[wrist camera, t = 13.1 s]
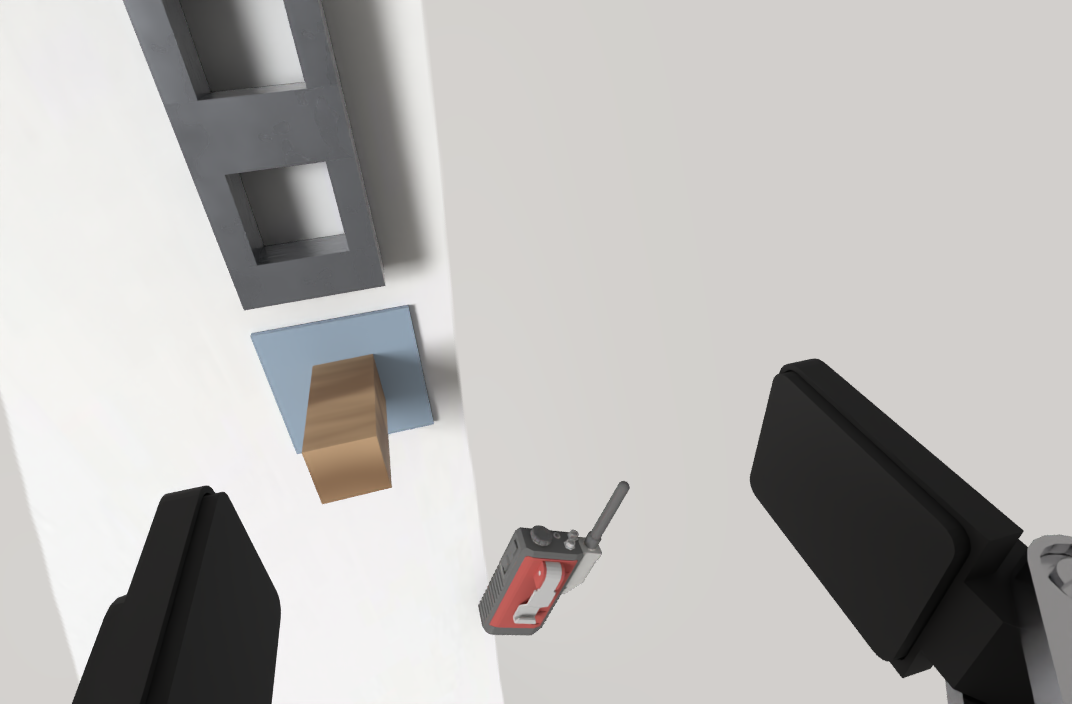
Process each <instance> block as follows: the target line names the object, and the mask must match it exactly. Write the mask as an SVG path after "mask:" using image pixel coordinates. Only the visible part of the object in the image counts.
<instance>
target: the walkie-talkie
mask: <svg viewBox="0 0 1072 704" xmlns="http://www.w3.org/2000/svg"><path fill="white" fill-rule="evenodd" d="M628 490H629V484H628V483H627V482H625V481H622V482H620V483H619V484H618V487H617V488H616V490H615V491H614V493H613V495H612V496H611V498H610V500H609V502H608V503H607V505H606V507H605V509H604V510H603V512H602V514H601V516H600V517H599V519H598V521H597V522H596V524H595V526H594V528H593V529H592V531H590V532H589V533H588V535H587V537H586V538H583V537H578V535H579V534H578V532H577V531H576V530H571V531H570V532H562V531H552V530H548V529H547V528H545V527H543V526H534V527H533V528H522V527H520V528H518V529H517V530H515V532H514V534H513V536H512V538H511V540H510V542H509V544H508V546H507V548H506V550H505V552H504V554H503V556H502V558H501V560H500V562H499V565H498V566H497V569H496V570H495V573H494V574H493V577H492V578H491V581H490V582H489V586H487V590H485V591H486V592H485V593H484V594H483V595H484V596H483V597H482V600H481V601H480V604H478V607H479V612H480V617H481V622H482V626H483V628H484V629H485V631H486V632H487V633H489V634H492V635H532V634H534V633H535V632H536V631H538V630H539V629H540V628H542V626H543V624H544V622H545V621H546V619H547V618H548V615H549V614H550V613H551V610H552V609H553V607H554V606H555V603H556V602H557V600H558V599H559V597H560V595H561V594H565V593H567V592H568V591H570V590H572V589H573V588H575V587H577V586H578V585H580V584H581V583H583V582H584V580H585V578H586V577H587V575H588V573H589V572H590V570H591V568H592V567H593V565H594V563H595V562H596V560H598V559H599V558H600V556H601V554H602V552H601V550H600V547H599V545H598V544H599V542H600V541H601V536H602V534H603V533H604V531H605V529H606V527H607V526H608V524H609V523H610V521H611V519H612V517H613V516H614V514H615V512H616V511H617V509H618V507H619V506H620V504H621V502H622V500H623V499H624V497H625V495H626V494H627V492H628Z"/></svg>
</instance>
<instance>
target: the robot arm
mask: <svg viewBox="0 0 1072 704" xmlns="http://www.w3.org/2000/svg"><path fill="white" fill-rule="evenodd" d="M750 484H751V488H752V490H753V492H754V494H755V496H756V497H757V499H758V500H759V501H760V503H761V504H762V505H763V507H764V508H765V509H766V511H767V512H768V513H769V515H770V516H771V517H772V518H773V520H774V521H775V522H776V524H777V525H778V526H779V528H780V529H781V530H782V532H783V533H784V534H785V536H786V537H787V538H788V540H789V541H790V542H791V543H792V545H793V546H794V547H795V549H796V550H797V551H798V553H799V554H800V555H801V557H802V558H803V559H804V561H805V562H806V563H807V564H808V566H809V567H810V569H811V570H812V571H813V572H814V574H815V575H816V576H817V578H818V579H819V580H820V582H821V583H822V584H823V585H824V587H825V588H826V589H827V591H828V592H829V594H830V595H831V596H832V597H833V599H834V600H835V601H836V603H837V604H838V605H839V607H840V608H841V609H842V611H843V612H844V613H845V615H846V616H847V617H848V619H849V620H850V621H851V622H852V624H853V625H854V626H855V627H856V629H857V630H858V632H859V633H860V634H861V635H862V637H863V638H864V640H865V641H866V642H867V644H868V645H869V646H870V647H871V649H872V650H873V651H874V652H875V653H876V655H878V656H879V657H880V658H881V659H882V660H885V661H890V663H891V664H892V665H893V667H894V668H895V669H896V671H897V672H898V673H899V674H900V676H901V677H902V678H904V677H907V676H910V675H913V674H916V673H919V672H922V671H925V670H928V669H930V668H931V667H932V666H933V665H934V667H936V669H937V670H938V671H939V673H940V674H941V675H942V676H943V677H944V678H945V680H946V690H947V699H948V704H1072V537H1070V536H1064V535H1047V536H1042V537H1040V538H1037V539H1035V540H1033V542H1032V543H1031V544H1030V546H1029V547H1027V546H1026V545H1025V544H1023V543H1022V542H1021V541H1020V540H1019V539H1018V538H1019V537H1020V536H1021V534H1022V533H1023V530H1022V529H1021V528H1020V527H1018V526H1017V525H1016V524H1015V523H1014V522H1012V520H1010V519H1009V518H1008V517H1007V516H1006V515H1004V514H1003V513H1002V512H1001V511H1000V510H998V509H997V508H996V507H995V506H994V505H993V504H991V503H990V502H989V501H988V500H987V499H985V498H984V497H983V496H982V495H981V494H980V493H978V492H977V491H976V490H975V489H973V488H972V487H971V486H970V485H969V484H968V483H966V482H965V481H964V480H963V479H962V478H961V477H959V476H958V475H957V474H956V473H955V472H953V471H952V470H951V469H950V468H948V466H946V465H945V464H944V463H943V462H942V461H940V460H939V459H938V458H937V457H936V456H934V455H933V454H932V453H931V452H930V451H929V450H927V449H926V448H925V447H924V446H923V445H921V444H920V443H919V442H918V441H917V440H916V439H914V438H913V437H912V436H911V435H909V434H908V433H907V432H906V431H905V430H904V429H903V428H901V427H900V426H899V425H898V424H897V423H895V422H894V421H893V420H892V419H891V418H889V417H888V416H887V415H886V414H885V413H883V412H882V411H881V410H880V409H879V408H878V407H876V406H875V405H874V404H873V403H872V402H870V401H869V400H868V399H867V398H866V397H865V396H863V395H862V394H861V393H860V392H859V391H857V390H856V389H855V388H854V387H853V386H852V385H850V384H849V383H848V382H847V381H846V380H844V379H843V378H842V377H841V376H840V375H839V374H837V373H836V372H835V371H834V370H833V369H831V368H830V367H829V366H828V365H827V364H825V363H824V362H823V361H821V360H819V359H809V360H804V361H800V362H795V363H790V364H786V365H784V366H783V367H782V368H781V370H780V373H779V374H777V375H776V376H775V377H774V379H773V383H772V387H771V391H770V395H769V399H768V404H767V408H766V412H765V416H764V420H763V424H762V428H761V433H760V437H759V441H758V445H757V449H756V454H755V458H754V462H753V466H752V470H751V474H750ZM280 619H281V607H280V600H279V596H278V593H277V591H276V589H275V587H274V585H273V583H272V581H271V579H270V577H269V575H268V573H267V571H266V569H265V568H264V566H263V564H262V562H261V560H260V558H259V556H258V554H257V552H256V550H255V548H254V546H253V544H252V542H251V540H250V538H249V536H248V534H247V532H246V530H245V528H244V526H243V524H242V522H241V520H240V518H239V516H238V514H237V512H236V510H235V508H234V506H233V504H232V503H231V501H230V499H229V497H228V495H227V494H226V493H225V492H220V493H215V492H214V491H213V489H212V488H211V487H209V486H202V487H197V488H192V489H187V490H182V491H178V492H173V493H168V494H165V495H164V496H163V497H162V499H161V500H160V502H159V505H158V508H157V511H156V514H155V516H154V519H153V522H152V525H151V528H150V531H149V533H148V536H147V539H146V542H145V545H144V548H143V550H142V553H141V556H140V559H139V562H138V565H137V567H136V570H135V573H134V576H133V579H132V582H131V584H130V587H129V590H128V593H127V595H124V596H122V597H119V598H117V599H116V600H115V601H114V602H113V603H112V604H111V605H110V607H109V609H108V611H107V613H106V615H105V617H104V619H103V622H102V625H101V627H100V630H99V633H98V635H97V638H96V641H95V643H94V646H93V649H92V651H91V654H90V657H89V659H88V662H87V665H86V667H85V670H84V673H83V675H82V678H81V681H80V683H79V686H78V689H77V691H76V694H75V697H74V700H73V702H72V704H272V694H273V685H274V676H275V666H276V657H277V647H278V638H279V628H280Z"/></svg>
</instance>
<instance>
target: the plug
mask: <svg viewBox="0 0 1072 704" xmlns="http://www.w3.org/2000/svg"><path fill="white" fill-rule="evenodd" d="M302 455H303V457H304V460H305V462H306V465H307V467H308V470H309V472H310V475H311V477H312V480H313V482H314V485H315V487H316V490H317V492H318V495H319V497H320V500H321V502H322V504H325V503H330V502H334V501H338V500H342V499H346V498H350V497H354V496H359V495H363V494H367V493H371V492H375V491H379V490H384V489H388V488H392V484H391V469H390V455H389V440H388V425H387V411H386V399H385V396H384V392H383V388H382V385H381V381H380V378H379V374H378V370H377V367H376V363H375V359H374V356H373V354H369V355H364V356H359V357H354V358H349V359H344V360H339V361H334V362H329V363H324V364H319V365H314V366H313V367H312V375H311V383H310V391H309V399H308V407H307V415H306V423H305V431H304V439H303V447H302Z"/></svg>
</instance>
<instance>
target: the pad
mask: <svg viewBox="0 0 1072 704" xmlns="http://www.w3.org/2000/svg"><path fill="white" fill-rule="evenodd" d="M251 339H252V342H253V344H254V347H255V349H256V352H257V354H258V357H259V359H260V362H261V364H262V367H263V369H264V372H265V374H266V377H267V379H268V382H269V385H270V387H271V390H272V392H273V395H274V397H275V400H276V402H277V405H278V407H279V410H280V412H281V415H282V417H283V420H284V422H285V425H286V427H287V430H288V433H289V435H290V438H291V440H292V443H293V445H294V448H295V450H296V453H297V454H300V453H302V447H303V439H304V431H305V423H306V415H307V407H308V399H309V391H310V383H311V375H312V367H313V366H314V365H319V364H324V363H329V362H334V361H339V360H344V359H349V358H354V357H359V356H364V355H369V354H373V356H374V359H375V363H376V367H377V370H378V374H379V378H380V381H381V385H382V388H383V392H384V396H385V399H386V411H387V425H388V434H391V433H395V432H400V431H405V430H409V429H414V428H418V427H423V426H427V425H432V424H434V422H433V417H432V412H431V408H430V403H429V399H428V394H427V389H426V385H425V380H424V375H423V371H422V366H421V362H420V357H419V352H418V348H417V343H416V339H415V334H414V329H413V325H412V320H411V316H410V311H409V306H408V305H406V306H400V307H395V308H389V309H384V310H378V311H373V312H367V313H362V314H356V315H351V316H345V317H340V318H334V319H329V320H323V321H318V322H312V323H307V324H301V325H296V326H290V327H285V328H279V329H274V330H268V331H263V332H257V333H252V334H251Z"/></svg>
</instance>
